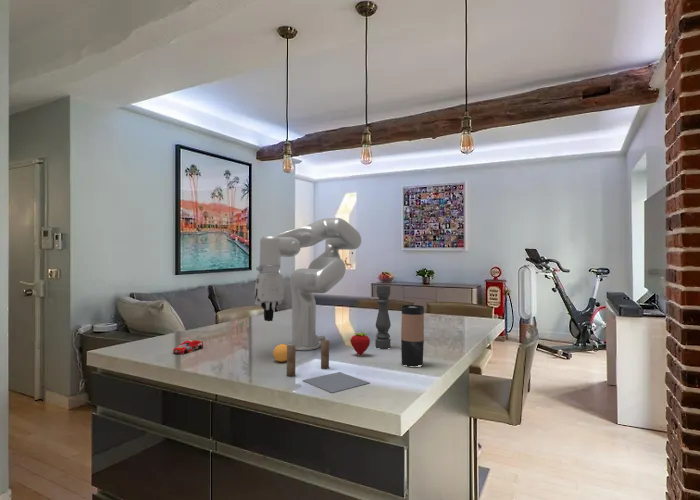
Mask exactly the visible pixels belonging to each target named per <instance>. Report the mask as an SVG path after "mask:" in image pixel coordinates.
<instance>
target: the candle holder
mask: <svg viewBox="0 0 700 500" xmlns="http://www.w3.org/2000/svg"><path fill="white" fill-rule="evenodd" d="M376 296H377V298H378V299H377V300H376V303H378V312H377V317H376V321H375V327H376V329H377V333H376V335H375V339H374V340H375V341H374V342H375V343H374V344H375V347H376V348H380V349H379V350H389V349H388V348H390V349H391V342H392V341H391V335H390V333H389V330H390V328H391V320H390V314H389V304H390V300H389V298H390V296H391V285H384V284H382V285H380V284H379V285H376ZM376 348H375V349H376Z"/></svg>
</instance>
